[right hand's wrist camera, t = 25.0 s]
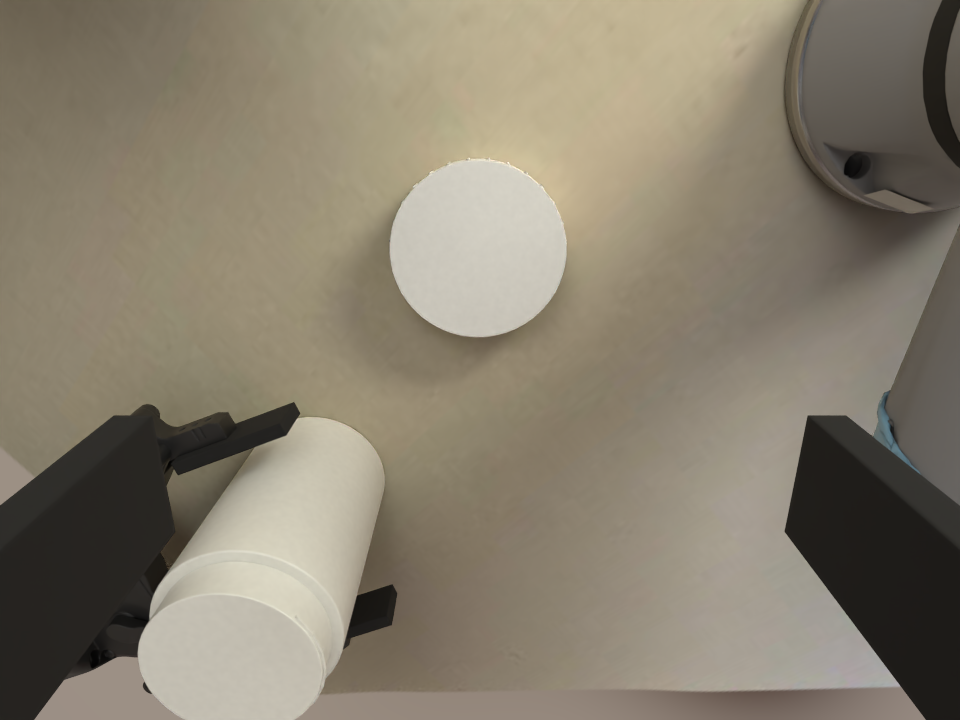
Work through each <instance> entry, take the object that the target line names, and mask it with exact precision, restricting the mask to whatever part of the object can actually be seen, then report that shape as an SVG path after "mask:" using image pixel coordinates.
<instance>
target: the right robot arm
mask: <svg viewBox="0 0 960 720" xmlns="http://www.w3.org/2000/svg"><path fill="white" fill-rule="evenodd" d="M785 97H786V109H787V115H788V121H789V125H790V128H791V132H792V135H793V138H794V140H795V143H796V145H797V147H798V149H799V151H800V153H801V155H802V157H803V159H804V160H805V161H806V163H807V164H808V166H809V167H810V169H811V170H812V171H813V172H814V173H815V174H816V176H817V177H818V178H819V179H820V180H821V181H823V182H824V183H825V184H826V185H827V186H828V187H830V188H831V189H833V190H834V191H835V192H837V193H838V194H840V195H842V196H844V197H846V198H848V199H850V200H853V201H855V202H858V203H860V204H864V205H868V206H871V207H876V208H881V209H886V210H891V211H897V212H905V213H909V214H913V213H928V212H936V211H943V210H948V209H952V208H956V207H960V0H808V2H807V4H806V7H805V9H804V11H803V13H802V15H801V17H800V20H799V22H798V25H797V28H796V30H795V33H794V37H793V40H792V44H791V47H790V52H789V57H788V62H787V70H786V80H785ZM877 415H878V424H877V427H876V430H875V433H874V436H873V437H872V436H871V435H870V434H869V433H867V432H866V431H865V430H864V429H862V428H861V427H860V426H859V425H857V424H856V423H855V422H854V421H852V420H851V419H850V418H848V417H847V416H808V417H807V422H806V427H805V432H804V437H803V442H802V447H801V452H800V457H799V462H798V467H797V472H796V477H795V482H794V487H793V492H792V497H791V502H790V508H789V513H788V518H787V523H786V528H785V533H786V534H787V535H788V537H789V538H790V539H791V541H792V542H793V543H794V545H795V546H796V547H797V549H798V550H799V551H800V553H801V554H802V555H803V557H804V558H805V559H806V561H807V562H808V563H809V565H810V566H811V567H812V569H813V570H814V571H815V573H816V574H817V575H818V577H819V578H820V579H821V581H822V582H823V583H824V585H825V586H826V587H827V589H828V590H829V591H830V593H831V594H832V595H833V597H834V598H835V599H836V601H837V602H838V603H839V605H840V606H841V607H842V609H843V610H844V611H845V613H846V614H847V615H848V617H849V618H850V619H851V621H852V622H853V623H854V625H855V626H856V627H857V629H858V630H859V631H860V633H861V634H862V635H863V637H864V638H865V639H866V641H867V642H868V643H869V645H870V646H871V647H872V649H873V650H874V651H875V653H876V654H877V655H878V657H879V658H880V659H881V661H882V662H883V663H884V665H885V666H886V667H887V669H888V670H889V671H890V673H891V674H892V675H893V677H894V678H895V679H896V680H897V682H898V683H899V684H900V686H901V687H902V688H903V690H904V691H905V692H906V694H907V695H908V696H909V698H910V699H911V700H912V702H913V703H914V704H915V706H916V707H917V708H918V710H919V711H920V712H921V714H922V715H923V716H924V718H925V719H926V720H960V224H959V227H958V229H957V232H956V234H955V237H954V239H953V242H952V244H951V246H950V249H949V251H948V254H947V256H946V258H945V261H944V263H943V266H942V268H941V270H940V273H939V275H938V278H937V280H936V282H935V285H934V287H933V290H932V292H931V294H930V297H929V299H928V302H927V304H926V306H925V309H924V311H923V314H922V316H921V318H920V321H919V323H918V326H917V328H916V330H915V333H914V335H913V338H912V340H911V342H910V345H909V347H908V350H907V352H906V354H905V357H904V359H903V362H902V364H901V366H900V369H899V371H898V374H897V376H896V378H895V381H894V383H893V386H892V388H891V390H890V391H888V392H885V393H884V395H883V396H882V398H881V400H880V402H879V405H878V411H877ZM174 533H175V528H174V523H173V518H172V513H171V508H170V503H169V497H168V492H167V487H166V482H165V477H164V472H163V467H162V462H161V457H160V452H159V447H158V442H157V437H156V432H155V427H154V422H153V417H152V416H113V417H112V418H110V419H109V420H108V421H106V422H105V423H104V424H103V425H101V426H100V427H99V428H98V429H96V430H95V431H94V432H93V433H91V434H90V435H89V436H88V437H86V438H85V439H84V440H82V441H81V442H80V443H79V444H77V445H76V446H75V447H74V448H72V449H71V450H70V451H69V452H67V453H66V454H65V455H63V456H62V457H61V458H60V459H58V460H57V461H56V462H55V463H53V464H52V465H51V466H50V467H48V468H47V469H46V470H45V471H43V472H42V473H41V474H39V475H38V476H37V477H36V478H34V479H33V480H32V481H31V482H29V483H28V484H27V485H26V486H24V487H23V488H22V489H20V490H19V491H18V492H17V493H16V494H14V495H13V496H12V497H10V498H9V499H8V500H7V501H5V502H4V503H3V504H2V505H0V720H34V719H35V718H36V716H37V715H38V714H39V712H40V711H41V710H42V708H43V707H44V706H45V704H46V703H47V702H48V700H49V699H50V698H51V696H52V695H53V694H54V692H55V691H56V690H57V688H58V687H59V686H60V684H61V683H62V682H63V680H64V679H65V678H66V676H67V675H68V674H69V673H70V671H71V670H72V669H73V667H74V666H75V665H76V663H77V662H78V661H79V659H80V658H81V657H82V655H83V654H84V653H85V651H86V650H87V649H88V647H89V646H90V645H91V643H92V642H93V641H94V639H95V638H96V637H97V635H98V634H99V633H100V631H101V630H102V629H103V627H104V626H105V625H106V623H107V622H108V621H109V619H110V618H111V617H112V615H113V614H114V613H115V611H116V610H117V609H118V607H119V606H120V605H121V603H122V602H123V601H124V599H125V598H126V597H127V595H128V594H129V593H130V591H131V590H132V589H133V587H134V586H135V585H136V583H137V582H138V581H139V579H140V578H141V577H142V575H143V574H144V573H145V571H146V570H147V569H148V567H149V566H150V565H151V563H152V562H153V561H154V559H155V558H156V557H157V555H158V554H159V553H160V551H161V550H162V549H163V547H164V546H165V545H166V543H167V542H168V541H169V539H170V538H171V537H172V535H173V534H174Z"/></svg>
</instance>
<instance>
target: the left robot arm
mask: <svg viewBox="0 0 960 720" xmlns="http://www.w3.org/2000/svg"><path fill="white" fill-rule="evenodd" d="M299 415H300V412H299V410H298V408H297V407H296V405H295V403H294V402H293V403H290V404H288V405H285V406H282V407H280V408H277V409H274V410H272V411H269V412H266V413H264V414H261V415H258V416H255V417H253V418H250V419H247V420H245V421H242V422H239V423H237V424H235V423H234V422H233V420H232V418H231V416H230V415H229V413H228V412H218V413H215V414H213V415H210V416H207V417H205V418H203V419H200V420H197V421H194V422H192V423H189V424H186V425H184V426H181V427H173V426H170V425H168V424H166V423H165V422H164V421H162V420H161V419H160V413H159V411H158V409H157V408H156V407H155V406H153V405H149V404H146V405H142V406H141V407H140V408H139V409H137V410H136V411H135V412H134V413H132V414H131V415H130V416H152V417H153V422H154V427H155V432H156V437H157V442H158V447H159V452H160V457H161V462H162V467H163V472H164V477H165V482H166V486H167V483H168V481H169V479H170V477H171V474H172V472H173V470H175V471H176V473H177V474H178V475H180V474H183V473H185V472H188V471H191V470H194V469H196V468H199V467H202V466H205V465H207V464H210V463H213V462H216V461H218V460H221V459H224V458H226V457H229V456H232V455H235V454H237V453H240V452H243V451H246V450H248V449H251V448H254V447H256V446H259V445H262V444H265V443H267V442H270V441H273V440H276V439H278V438H281V437H284V436H286V435H287V434H288V432H289V431H290V429H291V427H292V426H293V424H294V423H295V421H296V419H297V418H298V416H299ZM168 571H169V570H168V569H167V566H166V563H165V560H164V558H163V556H162V555H161V553H159V554H158V555H157V557H156V558H155V559H154V561H153V562H152V563H151V565H150V566H149V567H148V569H147V570H146V571H145V573H144V574H143V575H142V577H141V578H140V579H139V581H138V582H137V583H136V585H135V586H134V587H133V589H132V590H131V591H130V593H129V594H128V595H127V597H126V598H125V599H124V601H123V602H122V603H121V605H120V606H119V607H118V609H117V610H116V611H115V613H114V614H113V615H112V617H111V618H110V619H109V621H108V622H107V623H106V625H105V626H104V627H103V629H102V630H101V631H100V633H99V634H98V635H97V637H96V638H95V639H94V641H93V642H92V643H91V645H90V646H89V647H88V649H87V650H86V651H85V653H84V654H83V655H82V657H81V658H80V659H79V661H78V662H77V663H76V665H75V666H74V667H73V669H72V670H71V671H70V673H69V674H68V675H67V676H66V678H65V679H68V678H71V677H74V676H77V675H80V674H83V673H86V672H89V671H91V670H94V669H96V668H98V667H99V666H101V665H103V664H105V663H107V662H108V661H110V660H112V659H114V658H116V657H122V656H127V657H138V646H139V641H140V638H141V634H142V632H143V631H144V629H145V627H146V625H147V624H148V622H149V621H150V619H149V614H150V606H151V602H152V598H153V595H154V593H155V591H156V589H157V587H158V585H159V584H160V582H161V581H162V580H163V578H164V577H165V575H166V574H167V572H168ZM396 598H397V592H396V590H395V588H394V586H393V584H392V585H389V586H386V587H382V588H379V589H376V590H373V591H370V592H367V593H364V594H361V595H358V596H357V597H356V601H355V604H354V608H353V612H352V616H351V620H350V624H349V627H348V631H347V635H346V639H345V643H344V647H343V649H344V648H346V647H347V646H348V645H349V643H350V639H351V638H352V637H355V636H358V635H362V634H365V633H368V632H371V631H374V630H377V629H381V628H384V627H387V626H390V625H392V621H393V615H394V609H395V604H396ZM65 679H64V680H65ZM143 688H144V689H145V691H146V692H148V693H150V694H152V693H151V691H150V690H149V689H148V687H147V685H146V683H145V682H144V683H143Z"/></svg>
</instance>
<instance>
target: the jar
mask: <svg viewBox="0 0 960 720" xmlns="http://www.w3.org/2000/svg"><path fill="white" fill-rule="evenodd" d="M384 488H385V474H384V469H383V465H382V462H381V460H380V458H379V456H378V454H377V452H376V450H375V449H374V448H373V446H372V445H371V444H370V443H369V441H368V440H367V439H366V438H365V437H363V436H362V435H361V434H360V433H359V432H357V431H356V430H354V429H353V428H351V427H349V426H347V425H345V424H343V423H340V422H338V421H335V420H331V419H327V418H320V417H303V418H297V419H296V421H295V423H294V424H293V426H292V427H291V429H290V431H289V432H288V434H287V435H286V436H284V437H281V438H278V439H276V440H273V441H270V442H267V443H265V444H262V445H259V446H256V447H255V448H254V449H253V451H252V452H251V454H250V455H249V456H248V458H247V459H246V461H245V462H244V464H243V465H242V466H241V468H240V469H239V471H238V472H237V474H236V475H235V476H234V478H233V479H232V481H231V482H230V484H229V485H228V487H227V488H226V489H225V491H224V492H223V494H222V495H221V497H220V498H219V499H218V501H217V502H216V504H215V505H214V507H213V508H212V509H211V511H210V512H209V514H208V515H207V517H206V518H205V519H204V521H203V522H202V524H201V525H200V527H199V528H198V529H197V531H196V532H195V534H194V535H193V537H192V538H191V539H190V541H189V542H188V544H187V545H186V547H185V548H184V550H183V551H182V552H181V554H180V555H179V557H178V558H177V560H176V561H175V562H174V564H173V565H172V567H171V568H170V570H169V571H168V572H167V574H166V575H165V577H164V578H163V580H162V581H161V582H160V584H159V585H158V587H157V589H156V591H155V593H154V595H153V598H152V602H151V606H150V614H149V619H150V621H149V622H148V624H147V625H146V627H145V629H144V631H143V632H142V634H141V638H140V641H139V646H138V664H139V668H140V672H141V674H142V677H143V680H144V682H145V683H146V685H147V687H148V689H149V690H150V691H151V693H152V694H153V695H154V697H155V698H156V699H157V700H158V701H159V702H160V703H161V704H162V705H163V706H165V707H166V708H167V709H168V710H170V711H171V712H172V713H174V714H175V715H177V716H178V717H180V718H182V719H184V720H296V719H297V718H298V717H300V716H301V715H302V714H303V713H304V712H305V711H306V710H307V709H308V708H309V707H310V706H311V705H312V704H313V703H315V701H316V700H317V698H318V696H319V694H320V692H321V690H322V689H323V688H324V683H325V679H326V678H327V677H328V676H329V674H330V673H331V672H332V671H333V669H334V668H335V666H336V665H337V663H338V661H339V659H340V657H341V654H342V650H343V647H344V643H345V639H346V635H347V631H348V627H349V624H350V620H351V616H352V612H353V608H354V604H355V601H356V597H357V593H358V589H359V585H360V581H361V578H362V574H363V570H364V566H365V562H366V558H367V555H368V551H369V547H370V543H371V539H372V535H373V532H374V528H375V524H376V520H377V516H378V512H379V508H380V505H381V501H382V497H383V493H384Z"/></svg>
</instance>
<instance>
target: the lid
mask: <svg viewBox="0 0 960 720" xmlns="http://www.w3.org/2000/svg"><path fill="white" fill-rule="evenodd" d="M428 174H429V175H428V176H426V177H425V178H424V179H423V180H421V181H420V182H419V183H416V184H415V185H414V186H413V190H412V191H411V192H410V193H409V194H408V195H407V197H406V198H405V199H404V200H403V201H402V202H401V206H400V208H399V210H398V212H397V214H396V217H395V219H394V220H393V226H392V231H391V235H390V240H389V242H390V247H389V249H390V262H391V267H392V272H393V275H394V278H395V281H396V283H397V285H398V287H399V290H400V292H401V293H402V295H403V296H404V298H405V299H406V301H407V302H408V303H409V305H410V306H411V307H412V308H413V309H414V310H415V311H416V312H417V313H418V314H419V315H420V316H421V317H422V318H424V319H425V320H426V321H428V322H429V323H431V324H432V325H434V326H436V327H438V328H440V329H442V330H444V331H447V332H450V333H453V334H457V335H461V336H467V337H489V336H496V335H500V334H504V333H507V332H509V331H512V330H514V329H517V328H519V327H520V326H522V325H524V324H526V323H527V322H529V321H530V320H531V319H533V318H534V317H535V316H536V315H537V314H538V313H540V312H541V311H542V310H543V309H544V307H545V306H546V305H547V304H548V303H549V301H550V300H551V298H552V297H553V295H554V294H555V292H556V290H557V288H558V286H559V284H560V282H561V279H562V276H563V272H564V269H565V263H566V253H567V244H566V243H567V241H566V234H565V230H564V225H563V223H564V222H563V221H562V219H561V217H560V214H559V212H558V210H557V208H556V206H555V205H556V203H555V202H554V201H553V200H551V198H550V197H549V195H548V194H547V193H546V192H545V190H544V187H543V186H542V185H541V184H538V183H537V182H536V181H535V180H534V179H532V178H531V177H530V176H529V175H528V173H527V172H526V171H525V172H523V171H521V170H520V169H518V168H516V167H514V166H512V165H510V164H509V163H508V162H507V163H504V162H500V161H497V160H491V159H490V158H488V159H484V158H473V159H470V157H468V158H467V159H465V160H459V161H456V162H452V163H450V162H448V163H447V165H445V166H442V167H440V168H438V169H437V170H435V171H431V172H429V173H428Z"/></svg>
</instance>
